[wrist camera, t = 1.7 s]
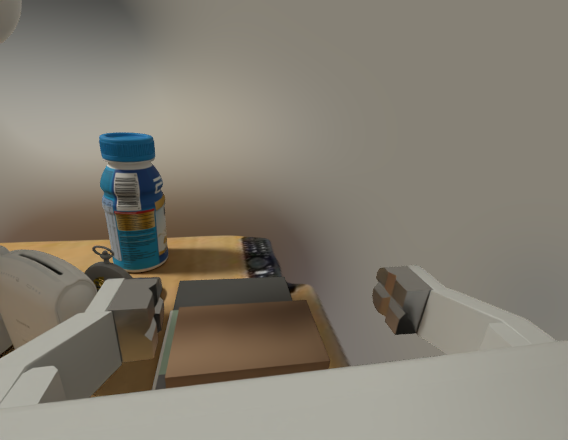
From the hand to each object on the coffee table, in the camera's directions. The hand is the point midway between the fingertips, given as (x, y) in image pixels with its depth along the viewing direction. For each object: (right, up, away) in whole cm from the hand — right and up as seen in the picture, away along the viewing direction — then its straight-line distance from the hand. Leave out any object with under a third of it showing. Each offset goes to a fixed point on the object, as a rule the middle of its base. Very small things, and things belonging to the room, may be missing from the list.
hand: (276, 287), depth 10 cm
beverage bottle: (-23, -4, +38) cm, 44 cm away
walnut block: (-3, -15, +14) cm, 20 cm away
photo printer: (-22, -12, +19) cm, 32 cm away
